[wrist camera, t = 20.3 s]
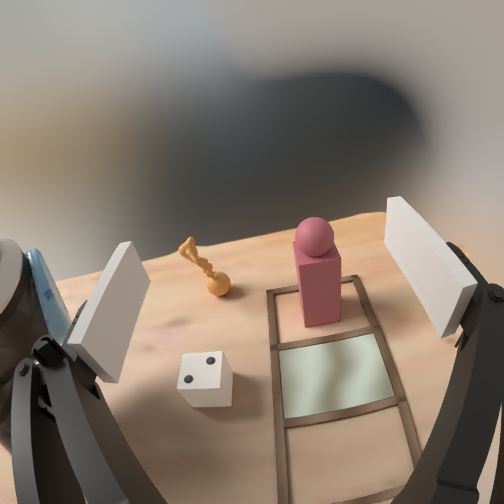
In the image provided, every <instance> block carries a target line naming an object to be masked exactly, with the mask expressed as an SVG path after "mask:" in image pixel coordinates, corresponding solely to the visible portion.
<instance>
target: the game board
mask: <svg viewBox="0 0 504 504" xmlns="http://www.w3.org/2000/svg"><path fill="white" fill-rule="evenodd" d="M352 281H353V283H354V285H355V288H356V290H357V293H358V295H359V298H360V300H361V302H362V305H363V307H364V310H365V312H366V315H367V318H368V320H369V323H370V325H371V327H367V328H363V329H358V330H354V331H349V332H344V333H339V334H334V335H329V336H323V337H318V338H312V339H306V340H300V341H294V342H288V343H281V344H278V342H277V330H276V319H275V308H274V298H273V295H278V294H284V293H291V292H297V291H299V286H298V285H295V286H289V287H283V288H277V289H271V290H266V292H267V307H268V322H269V338H270V354H271V370H272V387H273V405H274V423H275V443H276V463H277V486H278V504H289V496H288V478H287V462H286V446H285V431H284V428H290V427H298V426H305V425H311V424H317V423H323V422H329V421H334V420H339V419H344V418H348V417H353V416H357V415H361V414H365V413H369V412H373V411H377V410H380V409H384V408H387V407H391V406H394V405H398V408H399V412H400V415H401V419H402V423H403V426H404V430H405V434H406V438H407V441H408V445H409V450H410V454H411V458H412V462H413V467H414V469H415V467H416V465H417V463H418V461H419V459H420V457H421V452H420V448H419V444H418V440H417V437H416V433H415V429H414V426H413V422H412V419H411V415H410V412H409V409H408V406H407V402H406V399H405V396H404V393H403V390H402V387H401V384H400V381H399V378H398V375H397V372H396V369H395V367H394V364H393V361H392V358H391V356H390V353H389V350H388V348H387V345H386V342H385V340H384V337H383V335H382V332H381V330H380V327H379V325H378V322H377V320H376V317H375V315H374V312H373V310H372V308H371V305H370V303H369V301H368V298H367V296H366V294H365V291H364V289H363V287H362V285H361V282H360V280H359V278H358V276H357V275H351V276H346V277H341V284H342V283H347V282H352ZM278 352H279V354H278ZM279 358H280V366H279ZM280 370H281V378H280ZM281 382H282V391H281ZM282 395H283V404H282ZM283 408H284V417H283ZM405 485H406V484H405ZM405 485H402V486H399V487H396V488H393V489H390V490H386V491H383V492H380V493H376V494H373V495H369V496H365V497H361V498H357V499H353V500H348V501H343V502H338V503H333V504H371V503H374V502H378V501H381V500H385V499H388V498H391V497H394V496H397V495H398V494H399V493H400V492H401V491H402V490H403V488H404V487H405Z"/></svg>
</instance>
